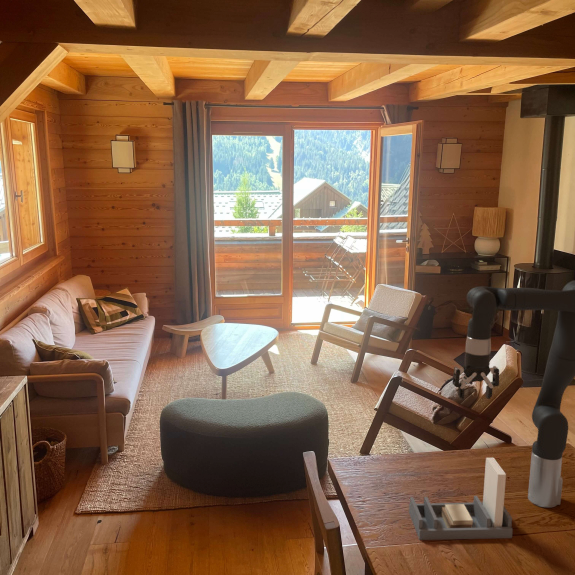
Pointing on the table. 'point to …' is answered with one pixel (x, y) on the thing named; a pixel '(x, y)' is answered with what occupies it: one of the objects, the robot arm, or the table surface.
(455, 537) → the rack
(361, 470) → the table surface
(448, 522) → the offcuts
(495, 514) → the white rectangular board
